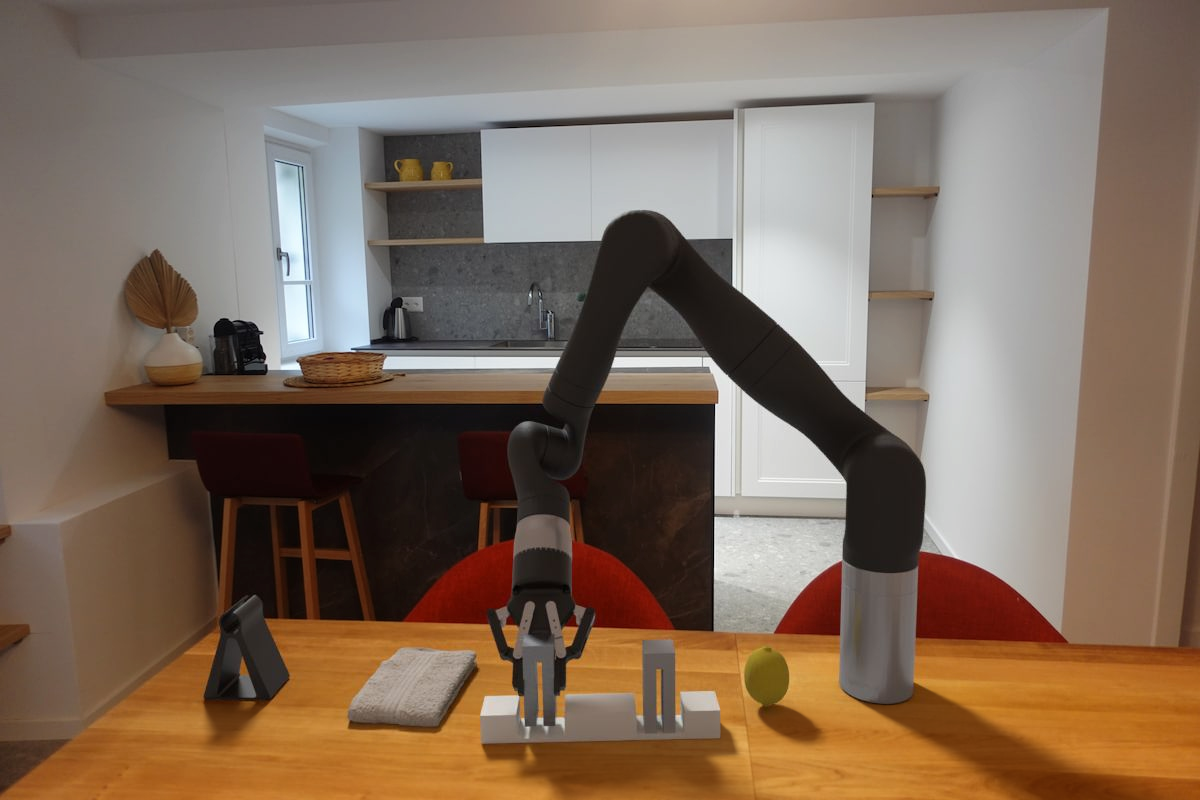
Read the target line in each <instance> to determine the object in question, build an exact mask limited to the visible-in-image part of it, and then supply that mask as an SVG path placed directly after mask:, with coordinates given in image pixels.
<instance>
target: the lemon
mask: <svg viewBox="0 0 1200 800" xmlns="http://www.w3.org/2000/svg"><path fill="white" fill-rule="evenodd" d="M743 678H744V679H743V680H744V686H745V689H746V691H747V693H748V694H749V696H750V697H751V698H752V699H753V701H755V702H757V703H758V704H761V705H762V706H763V707H764V708H768V707H770V706H771V705H775V704H777V703H778V702H780V701H781V700H783V698H784V697H785V696H786V694H787V693H788V689H789V684H790V671H789V667H788V663H787V660H786V659H785V657H784V656H783V654H782V653H781V652H780V651H779V650H777V649H775V648H773V647H771V646H769V645H764V646H763V647H759V648H756V649H754V651H752V652H751V653H750V654H749V655H748V657H747V659H746V663H745V665H744V671H743Z"/></svg>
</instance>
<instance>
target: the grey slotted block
mask: <svg viewBox="0 0 1200 800" xmlns="http://www.w3.org/2000/svg"><path fill="white" fill-rule="evenodd" d="M522 656H523V679H524V696H523V713H524V714H523V715H524V717H523V718H524V719H525V727H533V726H537V720H538V718H539V710H540V709H539V707H540V706H539V675H538V674H539V673H538V663H541V683H542V684H541V685H542V691H541V692H542V718H543V726H555V725H556V717H557V712H558V711H557V708H558V707H557V703H558V702H557V696H555V695H554V659H556V654H555V634H552V633H551V632H543V633H528V634H524V639H523V645H522Z"/></svg>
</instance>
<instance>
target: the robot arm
mask: <svg viewBox="0 0 1200 800" xmlns="http://www.w3.org/2000/svg"><path fill="white" fill-rule="evenodd" d="M601 237H602V238H601V240H600V243H599V248H598V251H597V255H596V259H595V263H594V267H593V270H592V273H591V278H590V282H589V284H588V287H587V292H586V294H585V298H584V301H583V303H582V306H581V309H580V312H579V314H578V317H577V318H576V322H575V325H574V326H573V328H572V331H571V333H570V335H569V338H568V339H567V342H566V343H565V346H564V348H563V351H562V352H561V356H560V357H559V359H558V362H557V364H556V367H555V368H554V370H553V373H552V375H551V377H550V379H549V382H548V383H547V386H546V388H545V389H544V390H545V391H544V393H543V396H542V405H543V407H544V409H545V410H546V412H548V413H549V414H550V415H551V416H554V418H556V419H557V420H559V421H562V422H563V423H564V427H563V428H562V429H561V428H557V427H553V426H549V425H547V424H543V423H539V422H535V421H529V420H528V421H522V422H520V423H519V424H518V425H516V426H515V427H514V429H513V430H511V433H510V435H509V438H508V440H507V460H508V465H509V469H510V472H511V476H512V480H513V484H514V488H515V492H516V497H517V515H516V518H517V519H516V531H515V534H514V539H513V540H514V541H513V542H514V543H513V561H512V577H511V578H512V579H511V580H512V583H511V595H510V598H509V600H508V601H507V604H506V606H503V607H500V608H499V609H495V608H488V609H487V610H486V612H485V614H486V617H487V622H488V625H489V627H490V630H491V634H492V637H493V638H494V639H493V640H494V643H495V646H496V648H497V651H498V654H499V657H500V659H501V660H502V661H509V662H511V664H512V677H511V684H512V689H513V691H514V692H517V695H518V696H519V697H524V679H523V656H522V645H523V639H524V634H528V633H543V632H551V633H552V634H555V659H554V695H555V696H556V697H560V696H561V691H563V692H564V691H565V689H566V687H567V664H568V662H570V661H572V660H579V659H581V657H582V655H583V652H584V650H585V647H586V644H587V642H588V639H589V636H590V634H591V630H592V628H593V626H594V623H595V621H596V610H595V608H594V607H592V606H588V607H583V606H582V605H581V606H580V605H577V604H576V601H575V599H574V597H573V592H572V591H573V588H572V586H573V585H572V584H573V583H572V580H573V578H572V577H573V576H572V575H573V574H572V572H573V570H572V568H573V567H572V566H573V565H572V563H573V547H572V546H573V543H572V541H573V540H572V535H571V498H570V493H569V491H568V489H567V488H566V486H564V485H563V484H562V483H560V482H558V481H565V480H568V479H570V478H572V477H573V476H574V475H575V474H576V473H577V472H578V470H579V468H580V466H581V465H582V461H583V460H582V459H583V455H584V448H585V442H586V435H587V432H588V427H589V423H590V419H591V415H592V412H593V409H594V408H595V405H596V403H597V401H598V399H599V397H600V396H601V393H602V391H603V389H604V386H605V384H606V382H607V380H608V377H609V375H610V373H611V370H612V366H613V363H614V362H615V358H616V357H615V356H616V353H617V350H618V346H619V343H620V340H621V338H622V337H621V336H622V334H623V332H624V330H625V328H626V324H627V322H628V320H629V319H630V316H631V315H632V312H633V310H634V308H635V307H636V305H637V304H638V302H639V301H640V300H641V297H642V295H644V293H645V291H646V290H647V289H648V288H649V289H650V290H651V291H652V292H654V293H655V294H657V296H659V297H660V298H661V299H663V301H665V302H666V303H667V304H668V305H670V306H671V307H672V308H673V309H674V310H675V311H676V312H677V313H678V314H679V315H680V316H681V317H682V319H683V320H684V321H685V323H686V324H687V326H688V327H689V328H690V329H691V331H692V332H693V334H694V335H695V337H696V339H697V340H698V342H699V343H700V344H701V346H702V347H703V349H704V351H705V352H706V353H707V354H708V356H709V358H711V360H712V361H713V363H715V364H716V366H717V367H718V368H719V369H720V370H721V371H722V373H724V374H725V375H726V376H727V377H728V378H729V379H730V380H731V381H732V382H733V383H734V384H735V385H737V387H739V388H740V389H741V390H742V391H743V392H744V393H745V394H746V395H747V396H748V397H749V398H750V399H752V400H753V401H754V402H756V403H757V404H758V405H760V406H761V407H762V408H764V409H765V410H766V411H768V412H769V413H771V414H772V415H773V416H776V417H777V418H779V419H780V420H782V421H783V422H784V423H786V424H788V425H789V426H791V427H792V428H794V429H796V430H797V431H798V432H799V433H801V434H802V435H803V436H805V437H806V438H807V439H808V440H810V442H811V443H812V444H813V445H814V446H815V447H816V448H817V449H818V450H820V452H821V453H822V454H823V455H824V456H825V457H826V459H828V461H829V462H830V463H831V464H832V465H833V467H835V469H836V470H837V471H838V473H839V474H840V475H841V476H842V478H843V480H844V481H845V483H846V490H845V491H846V493H845V495H846V496H845V524H844V535H843V537H842V554H841V555H842V556H841V557H842V558H841V563H842V564H841V593H840V594H841V596H840V597H841V599H840V601H841V602H840V631H839V632H840V633H839V634H840V635H839V663H838V664H839V668H838V670H839V671H838V682H839V683H838V684H839V686H840V688H841V689H842V690H843V691H844V692H845V693H847V694H848V695H850V696H852V697H853V698H856V699H858V700H860V701H865V702H868V703H873V704H882V705H883V704H884V705H885V704H886V705H889V704H890V705H893V704H898V703H902V702H905V701H907V700H908V699H910V698H912V695H913V693H914V682H915V681H914V680H915V679H914V678H915V661H916V657H915V654H916V653H915V652H916V634H917V632H916V631H917V607H918V605H917V604H918V584H919V583H918V581H919V579H918V577H919V562H920V561H919V559H920V558H919V557H920V551H921V549H922V546H923V542H924V527H925V516H926V515H925V513H926V498H927V478H926V471H925V467H924V465H923V463H922V461H921V459H920V457H919V456H918V455H917V454H916V453H915V451H914V450H913V449H912V448H911V447H910V445H909V444H908V443H907V442H906V441H904V440H903V439H901V438H900V437H899V436H897V435H896V434H894V433H892V432H891V431H890V430H889V429H887V428H886V427H885V426H883V425H881V424H880V423H879V422H877V421H876V420H875V419H874V418H872V417H871V416H870V415H868V414H867V413H866V412H865V411H863V410H862V409H861V408H860V407H858V406H857V405H856V404H855V403H854V402H852V401H851V400H850V399H849V398H848V397H847V396H846V395H845V394H844V393H843V392H842V390H841V389H839V387H838V386H837V385H836V384H835V383H834V381H833V380H832V379H831V377H829V375H828V374H827V373H826V372H825V370H824V369H823V368H822V367H821V366H820V365H819V364H818V362H817V361H816V360H815V359H814V358H813V357H812V355H811V354H810V353H808V352H807V350H806V349H805V348H804V347H803V346H802V345H801V344H800V343H799V342H798V341H797V340H796V339H795V338H794V337H793V336H792V335H791V334H789V332H787V331H786V330H785V329H784V328H783V327H782V326H781V325H780V324H779V323H778V322H776V320H775V319H773V318H772V317H771V316H769V314H767V313H766V312H765V311H764V310H763V309H762V308H760V307H759V306H758V305H757V304H756V303H754V302H753V301H752V300H751V299H750V298H748V297H747V295H746V294H743V293H742V291H740V290H738V289H737V288H736V287H734V286H733V285H732V284H731V283H730V282H728V281H727V280H725V278H723V277H722V276H721V275H719V274H718V273H717V271H715V270H714V269H713V267H711V266H710V264H709V263H708V262H707V261H706V260H705V259H704V257H702V256H701V255H700V254H699V252H698V251H697V250H696V249H695V248H694V247H693V245H691V243H690V242H689V241H688V240H687V238H686V237H684V235H683V233H681V231H680V229H678V228H677V227H676V225H675V224H674V223H673V222H672V221H671V220H670V219H669V218H668V217H666V216H665V215H664V214H661V213H660V212H658V211H653V210H648V209H637V210H628V211H624V212H622V213H620V214H618V215H617V216H615V217H614V218H613V219H612V220H611V221H610V222H609V223H608V225H607V226H606V227H605V229H604V231H603V234H602V236H601ZM557 480H558V481H557ZM574 615H575V618H576V619H575V621H576V625H577V626H578V627H577V630H576V633H575V636H574V638H573V641H572V643H571V644H570V645H568V646H566V645H565V641H564V637H563V632H562V631H563V629H564V628H565V626H566V625H567V624H568V622H569V621H570V620H571V618H572V617H573V616H574ZM508 617H510V618H511V619H512V621H513V622H514V624H515V625H516V626H517V628H518V631H517V636H516V642H515V645H514V647H511V646H508V643H507V640H506V636H505V634H504V631H503V628H504V627H506V625H507V618H508Z"/></svg>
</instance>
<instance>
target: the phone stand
mask: <svg viewBox="0 0 1200 800" xmlns="http://www.w3.org/2000/svg"><path fill="white" fill-rule="evenodd" d="M248 598H249V594H247V595H245V596H244V597H242V598H241V599H240V600H239V601H237V602H236V603H235V604H234V605H233V606H231V607H230V608H229V609H227V610H226V611H225V612H223V613H222V614H221V615H220V617H219V619H218V626H219V631H220V634H219V635H220V636H219V640H218V643H217V647H216V650H215V654H214V657H213V660H212V665H211V668H210V673H209V675H208V679H207V683H206V686H205V690H204V693H203V697H202V698H203V699H204V700H205V701H207V700H208V701H237V700H238V701H270V700H271V699H272V698H273V696H274V695H276V693H277V692H279V689H280V688H281V687H282V686H283V685H284V684H285V683H286V682H287V681H288V680H289V679H290V677H291V675H290V672H289V671H288V667H287V666H286V663H285V661H284V659H283V657H282V655H281V653H280V650H279V648H278V646H277V644H276V642H275V640H274V637H273V635H272V633H271V630H270V628H269V626H268V624H267V622H266V619H265V616H264V611H263V608H264V607H263V606H264V603H263V601H262V600H261V598H260V597H259V596H257V594H254V595H252V596H251V597H250V598H249V599H248ZM247 599H248V600H247ZM245 600H246V602H245ZM242 660H243V662H244V664H245V668H246V670H247V673H248V675H247V674H246V675H245V674H244V675H242V674H241V673H240V670H241V664H242Z"/></svg>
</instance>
